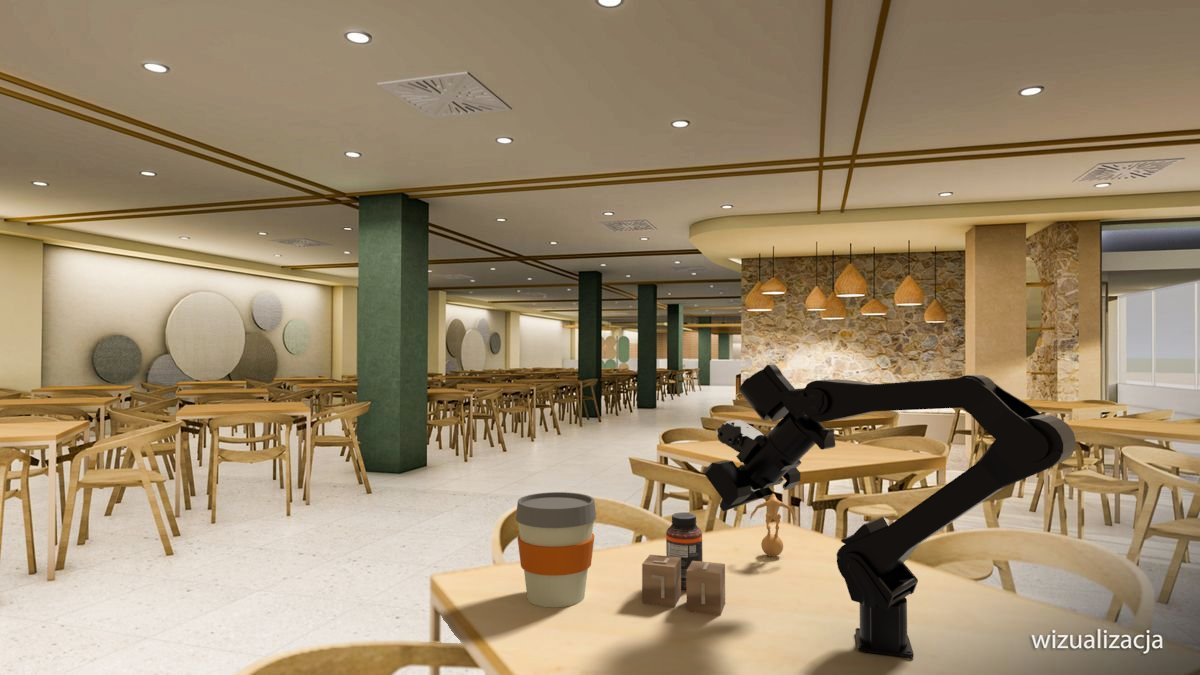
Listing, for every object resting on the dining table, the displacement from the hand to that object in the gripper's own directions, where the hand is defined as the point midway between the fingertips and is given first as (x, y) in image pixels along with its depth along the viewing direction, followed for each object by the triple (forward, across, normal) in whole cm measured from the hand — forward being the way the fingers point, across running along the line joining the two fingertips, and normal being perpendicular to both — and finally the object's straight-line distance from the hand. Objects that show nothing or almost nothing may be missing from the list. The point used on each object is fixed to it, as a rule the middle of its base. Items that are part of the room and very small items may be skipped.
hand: (722, 508), depth 105 cm
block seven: (+14, +8, +6) cm, 17 cm away
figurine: (+13, -23, +6) cm, 27 cm away
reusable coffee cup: (+23, +19, -3) cm, 30 cm away
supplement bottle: (+15, 0, +4) cm, 16 cm away
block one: (+9, +6, +10) cm, 15 cm away
